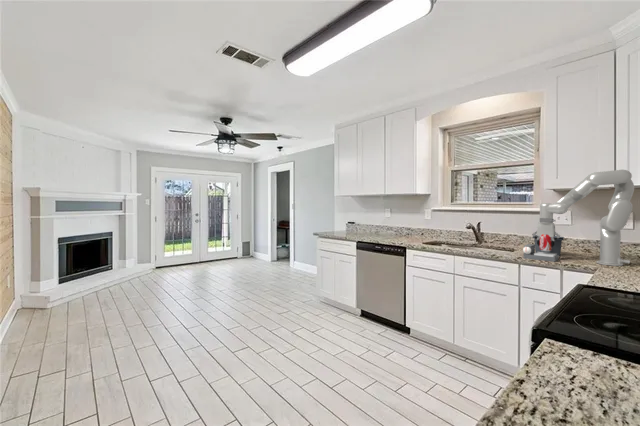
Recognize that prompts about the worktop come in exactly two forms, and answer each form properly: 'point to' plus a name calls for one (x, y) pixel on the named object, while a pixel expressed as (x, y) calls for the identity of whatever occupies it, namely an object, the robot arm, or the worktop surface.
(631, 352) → the worktop surface
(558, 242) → the storage bin
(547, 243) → the soda can
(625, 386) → the worktop surface
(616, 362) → the worktop surface
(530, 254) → the dial scale
